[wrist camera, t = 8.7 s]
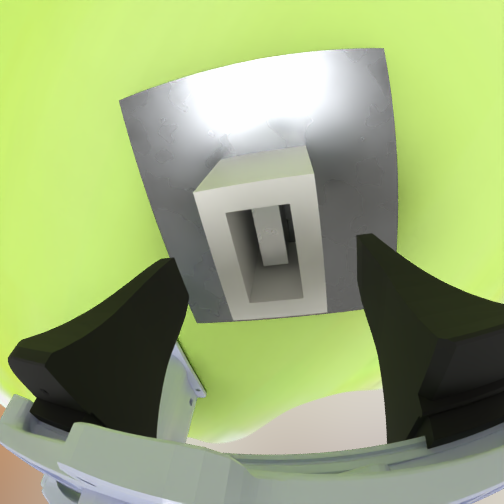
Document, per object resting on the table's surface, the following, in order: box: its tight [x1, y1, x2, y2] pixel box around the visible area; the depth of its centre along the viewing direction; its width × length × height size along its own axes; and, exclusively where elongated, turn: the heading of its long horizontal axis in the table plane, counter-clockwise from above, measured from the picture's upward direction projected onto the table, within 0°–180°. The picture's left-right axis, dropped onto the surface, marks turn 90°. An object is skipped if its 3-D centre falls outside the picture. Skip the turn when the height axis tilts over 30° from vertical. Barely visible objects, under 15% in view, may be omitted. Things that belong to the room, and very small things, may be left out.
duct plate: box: [119, 48, 398, 323], centre depth 15 cm, size 16×14×4 cm
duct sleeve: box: [193, 146, 327, 320], centre depth 14 cm, size 6×4×5 cm
